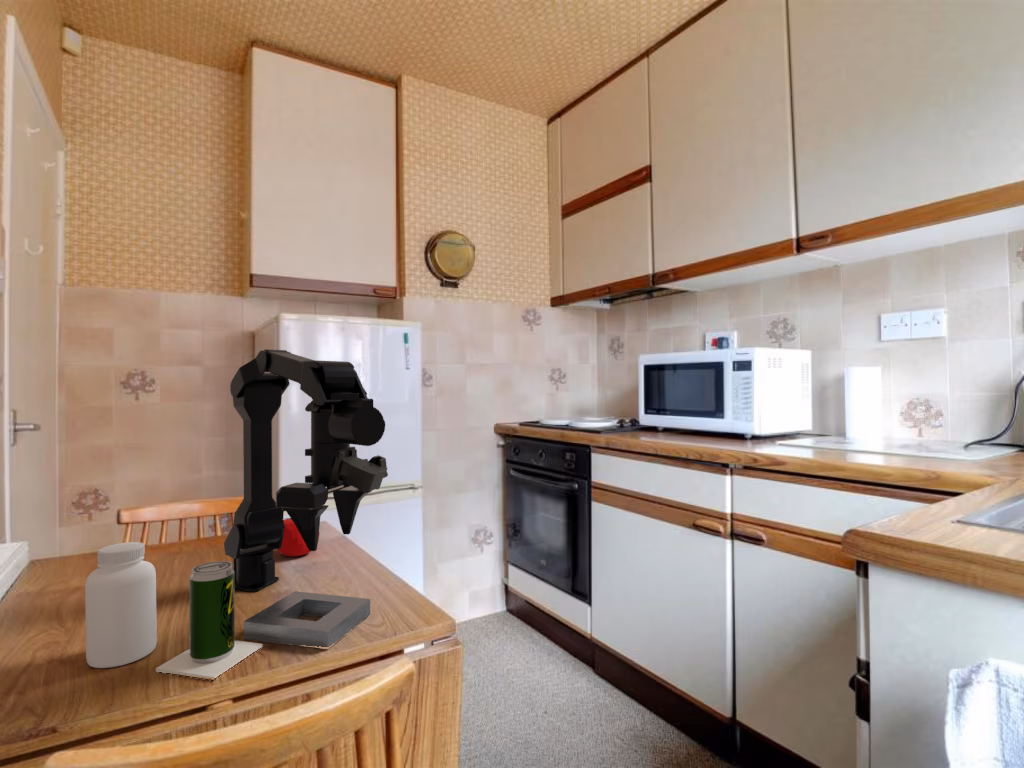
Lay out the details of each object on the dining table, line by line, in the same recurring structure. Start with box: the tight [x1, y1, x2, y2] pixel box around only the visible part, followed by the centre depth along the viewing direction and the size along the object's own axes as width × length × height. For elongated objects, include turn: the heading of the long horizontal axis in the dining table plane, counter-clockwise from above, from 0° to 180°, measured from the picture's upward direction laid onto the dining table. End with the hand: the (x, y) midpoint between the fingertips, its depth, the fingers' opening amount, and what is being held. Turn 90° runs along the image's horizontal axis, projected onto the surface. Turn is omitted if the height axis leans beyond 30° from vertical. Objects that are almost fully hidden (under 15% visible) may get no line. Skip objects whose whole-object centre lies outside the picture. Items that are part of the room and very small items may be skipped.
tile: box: [155, 639, 264, 679], centre depth 74 cm, size 9×9×1 cm
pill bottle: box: [84, 541, 158, 669], centre depth 75 cm, size 8×8×15 cm
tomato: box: [276, 517, 321, 558], centre depth 120 cm, size 9×10×8 cm
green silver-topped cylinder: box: [189, 560, 236, 664], centre depth 74 cm, size 5×5×12 cm
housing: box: [243, 590, 371, 647], centre depth 83 cm, size 14×12×3 cm
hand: (330, 542), depth 84 cm, fingers open, 9 cm apart
